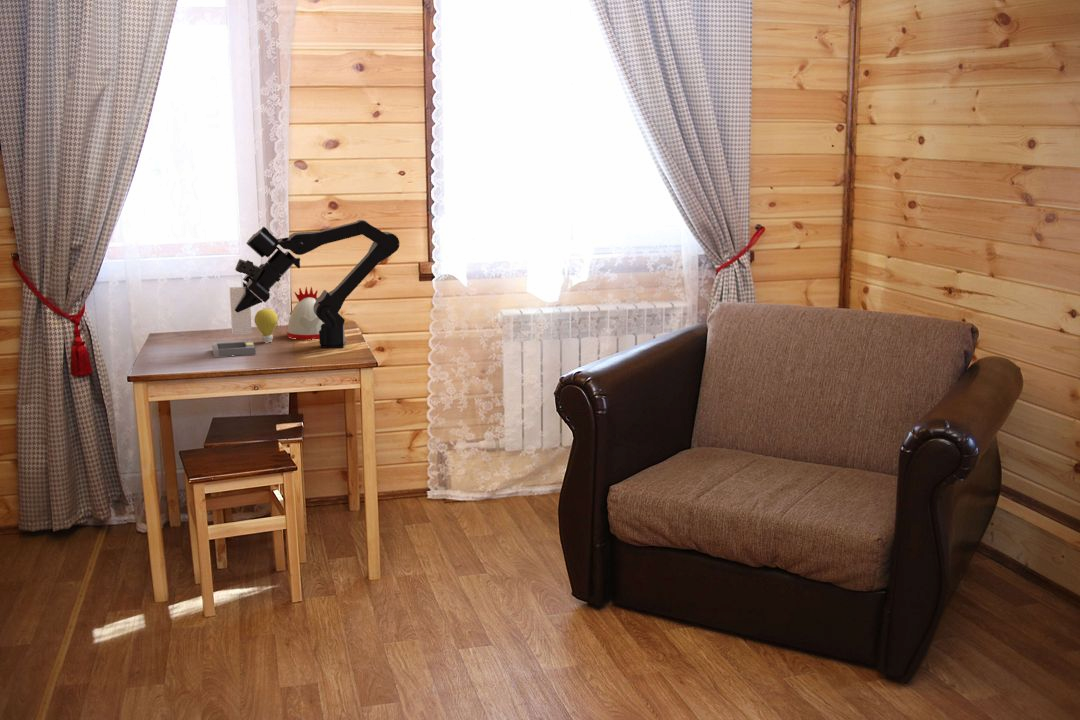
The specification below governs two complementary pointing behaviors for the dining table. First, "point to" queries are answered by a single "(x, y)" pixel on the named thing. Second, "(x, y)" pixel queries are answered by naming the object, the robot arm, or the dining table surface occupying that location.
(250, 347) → the plate
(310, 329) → the kitchen timer
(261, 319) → the light bulb
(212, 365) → the dining table surface
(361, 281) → the robot arm
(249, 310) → the rectangular block post
